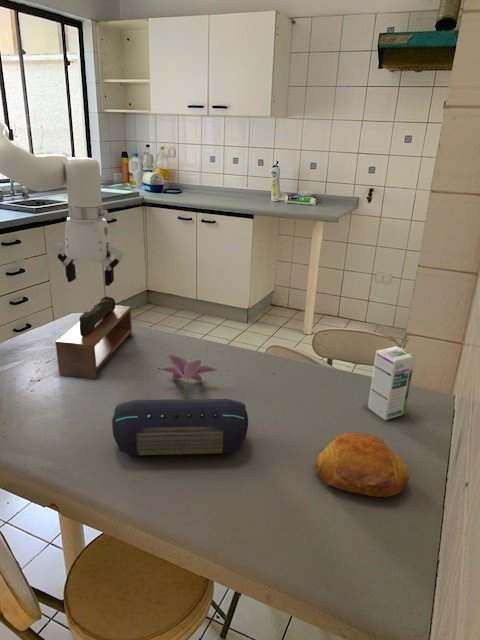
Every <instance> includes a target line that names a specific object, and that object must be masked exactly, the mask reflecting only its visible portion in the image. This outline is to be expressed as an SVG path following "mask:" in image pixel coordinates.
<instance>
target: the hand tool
mask: <svg viewBox="0 0 480 640" xmlns="http://www.w3.org/2000/svg"><path fill="white" fill-rule="evenodd" d="M115 305H117V304H116V300H115V299H114V298H113V297H111V296H104V297H101V299H100V301H99V302H98V303H96V304H94V305H93V308H92V309H90V310H89V311H85V312H83V313H82V314H81V315H80V316H79V321H80V335H81V336H82V335H85V334H87V333H89V332H90V331H92V330H94V328H95V325H96V324H97V323H98V322H99V321H100V320H101V319H102V318H103V317H104V316H105V315H106V314H107V313H108V312H109V311H110V310H111V311H113V310H114V309H115V308H116V307H115Z"/></svg>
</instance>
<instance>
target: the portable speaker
mask: <svg viewBox="0 0 480 640" xmlns="http://www.w3.org/2000/svg"><path fill="white" fill-rule="evenodd" d="M248 428H249V415H248V411H247V405H246V404H245V403H244V402H241V401H239V400H235V399H230V398H177V399H175V398H171V399H170V398H169V399H168V398H167V399H166V398H165V399H164V398H163V399H160V398H159V399H132V400H129V401H125V402H124V401H123V402H120V403H119V404H116V405H115V407H114V413H113V416H112V419H111V429H112V436H113V439H114V441H115V443H116V445H117V447H118V449H119V451H120V452H121V453H123V454H126V455H127V456H161V455H162V456H163V455H200V454H201V455H203V454H204V455H205V454H207V455H208V454H232V453H234V452H236V451H238V450H240V449H241V447H242V444H243V443H244V441H245V439H246V437H247V433H248Z"/></svg>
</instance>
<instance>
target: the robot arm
mask: <svg viewBox="0 0 480 640" xmlns="http://www.w3.org/2000/svg"><path fill="white" fill-rule="evenodd" d="M9 133H10V131H9V129H8V126H7V125H6V123H4V122H3V121H1V120H0V174H1V175H2V176H4V177H6V178H7V179H10V180H11V181H13V182H15V183H16V184H18V185H20V186H22V187H23V188H26V189H28V190H31V191H35V192H47V191H51V190H56V189H62V188H66V194H67V205H68V217H67V218H66V221H65V222H66V223H65V231H64V236H65V237H64V242H61V243H59V244H57V245H55V246H53V248H52V249H53V251H54V253H55V255H56V257H57V259H58V260H59V261H60V262H61V263H62V265H63V267H64V269H65V277H66V278H67V279H66V280H67V282H68V283H72V282H73V281H75V280H76V279H77V273H76V264H75V263H74V262H75V261H81V262H93V263H101V264H102V266H103V267H104V268H105V270H104V271H103V272H104V286H106V287H110V285H111V284H113V282H114V281H115V274H114V268H116V266H118V265H119V263H121V260H122V258H123V256H124V252H123V251H122V250H121V249H118V248H117V247H115V246H114V245H112V243H111V242H112V241H111V234H110V229H109V225H108V221H107V219H106V218H104V217H105V216H106V217H107V216H109V215H108V214H109V211H108V209H104V206H103V202H102V201H103V199H102V198H103V197H102V180H101V167H100V162H99V161H98V160H97V159H96V158H92V157H77V156H76V157H71V156H67V155H63V154H58V153H57V154H56V153H55V154H54V153H52V154H33V153H32V152H30V151H28V150H26V149H24V148H22V147H21V146H19V145H17V144H16V143H14V142H13V141H12V140H10V139H9V136H10V134H9ZM63 249H65V252H63ZM112 255H113V256H114V259H113V260H112V259H111V258H112Z"/></svg>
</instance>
